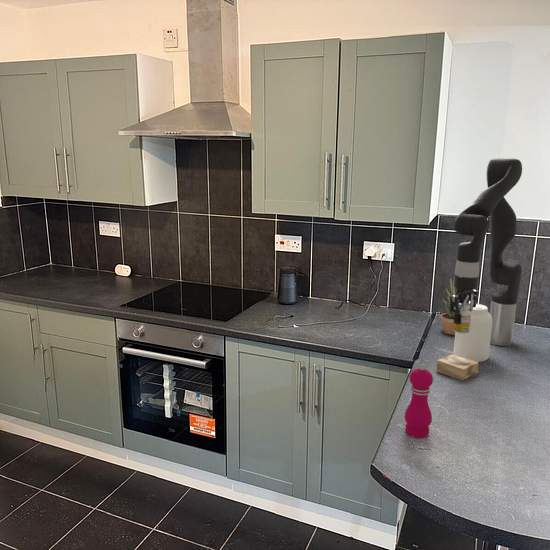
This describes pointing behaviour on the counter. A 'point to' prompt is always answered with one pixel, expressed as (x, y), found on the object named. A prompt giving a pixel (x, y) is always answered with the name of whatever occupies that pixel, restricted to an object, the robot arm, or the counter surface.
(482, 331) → the white jar
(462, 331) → the supplement bottle
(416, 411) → the pepper mill
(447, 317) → the potted plant
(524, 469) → the counter surface
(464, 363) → the pedestal
